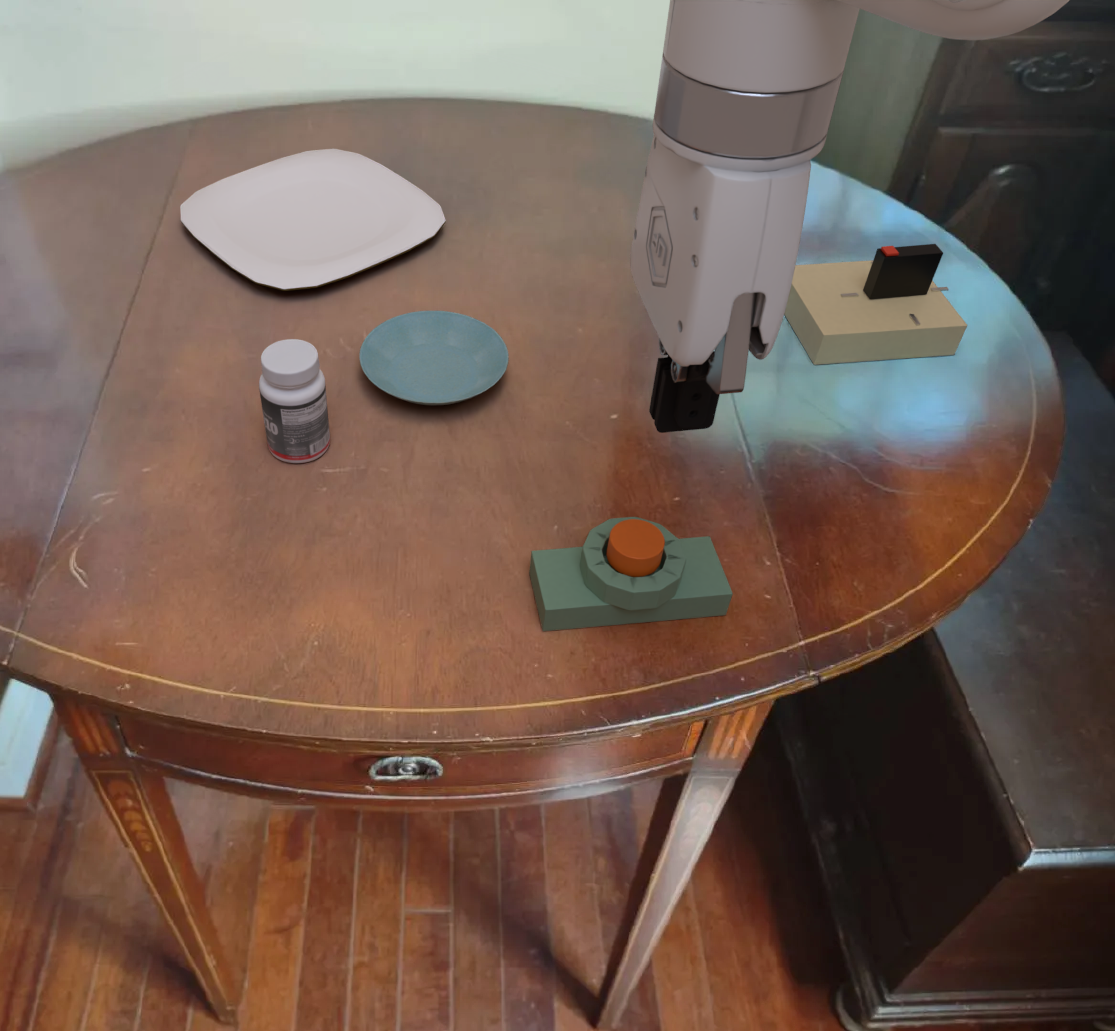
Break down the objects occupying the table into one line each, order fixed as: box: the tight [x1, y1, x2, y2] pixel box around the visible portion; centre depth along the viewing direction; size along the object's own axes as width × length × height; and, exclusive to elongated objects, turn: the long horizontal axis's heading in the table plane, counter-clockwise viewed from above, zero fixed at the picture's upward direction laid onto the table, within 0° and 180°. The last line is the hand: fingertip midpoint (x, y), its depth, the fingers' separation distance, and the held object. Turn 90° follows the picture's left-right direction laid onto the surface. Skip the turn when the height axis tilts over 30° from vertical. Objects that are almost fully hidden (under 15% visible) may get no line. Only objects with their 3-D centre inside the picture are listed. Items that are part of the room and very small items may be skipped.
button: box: [606, 519, 665, 577], centre depth 66 cm, size 3×3×2 cm
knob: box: [863, 243, 944, 299], centre depth 86 cm, size 5×1×4 cm, turn 98°
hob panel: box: [784, 259, 968, 366], centre depth 88 cm, size 13×10×3 cm
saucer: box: [358, 310, 510, 406], centre depth 84 cm, size 12×12×2 cm
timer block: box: [528, 516, 734, 632], centre depth 67 cm, size 12×6×4 cm, turn 96°
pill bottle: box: [258, 338, 331, 464], centre depth 76 cm, size 5×5×8 cm
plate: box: [179, 148, 447, 292], centre depth 100 cm, size 22×22×2 cm
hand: (680, 421), depth 59 cm, fingers closed
